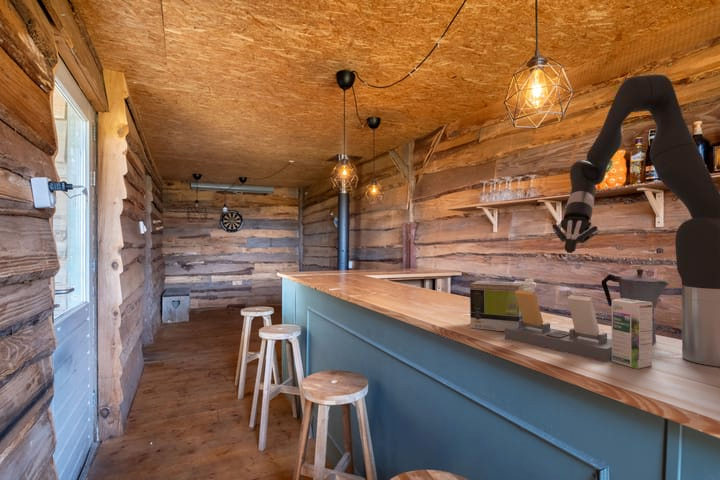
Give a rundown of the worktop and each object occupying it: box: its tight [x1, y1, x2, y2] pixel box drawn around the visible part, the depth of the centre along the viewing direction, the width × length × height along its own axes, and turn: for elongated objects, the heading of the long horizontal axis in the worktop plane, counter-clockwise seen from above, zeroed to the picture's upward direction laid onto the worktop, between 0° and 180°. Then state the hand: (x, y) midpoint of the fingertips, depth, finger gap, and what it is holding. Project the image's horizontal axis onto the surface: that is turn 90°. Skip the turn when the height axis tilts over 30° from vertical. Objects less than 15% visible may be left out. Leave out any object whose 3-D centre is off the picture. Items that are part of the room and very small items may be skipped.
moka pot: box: [601, 268, 670, 345], centre depth 105 cm, size 10×15×20 cm, turn 53°
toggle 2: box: [567, 294, 600, 340], centre depth 93 cm, size 5×2×12 cm, turn 36°
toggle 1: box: [515, 290, 544, 329], centre depth 104 cm, size 5×2×12 cm, turn 36°
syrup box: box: [611, 298, 653, 370], centre depth 85 cm, size 6×6×14 cm
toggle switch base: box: [504, 319, 612, 363], centre depth 100 cm, size 26×10×5 cm, turn 36°
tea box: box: [469, 280, 525, 332], centre depth 121 cm, size 15×10×15 cm, turn 58°
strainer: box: [518, 278, 537, 293], centre depth 127 cm, size 7×7×15 cm
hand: (569, 251), depth 113 cm, fingers closed
